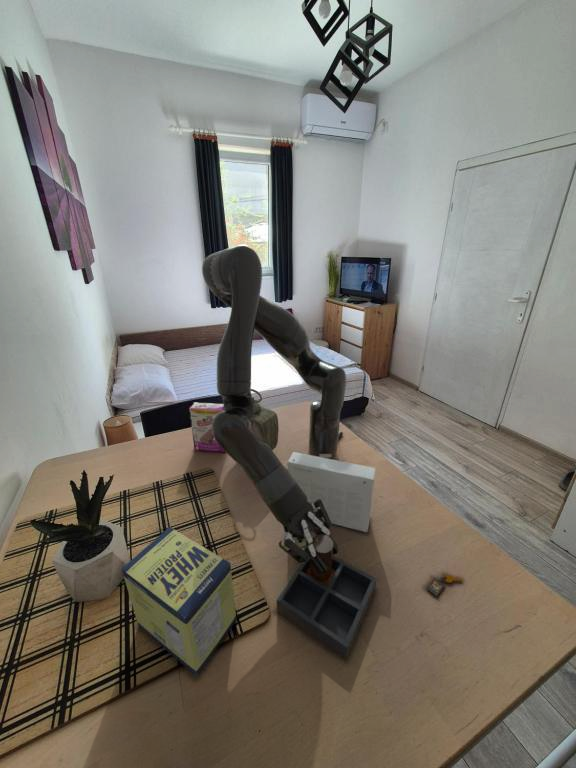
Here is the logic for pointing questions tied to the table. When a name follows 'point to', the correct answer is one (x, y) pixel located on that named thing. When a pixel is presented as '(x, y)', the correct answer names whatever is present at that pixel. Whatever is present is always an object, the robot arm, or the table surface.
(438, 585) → the key tag
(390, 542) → the table surface
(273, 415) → the tabletop clock
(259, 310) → the robot arm
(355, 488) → the skincare box
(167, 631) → the protein box
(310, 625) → the grid
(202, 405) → the candy bar box
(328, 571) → the brown cylinder
